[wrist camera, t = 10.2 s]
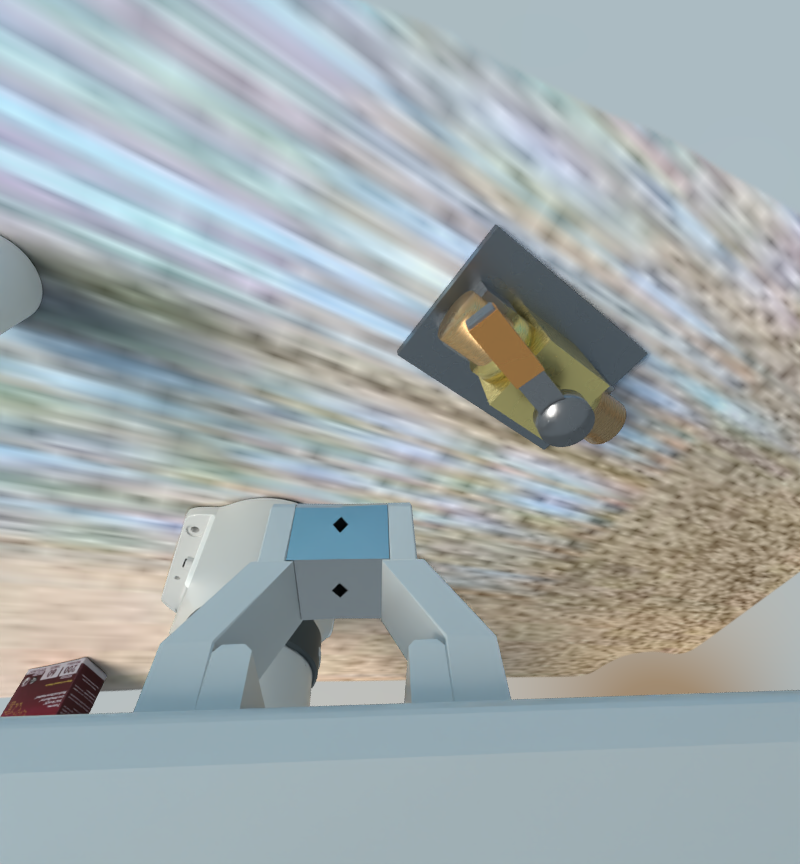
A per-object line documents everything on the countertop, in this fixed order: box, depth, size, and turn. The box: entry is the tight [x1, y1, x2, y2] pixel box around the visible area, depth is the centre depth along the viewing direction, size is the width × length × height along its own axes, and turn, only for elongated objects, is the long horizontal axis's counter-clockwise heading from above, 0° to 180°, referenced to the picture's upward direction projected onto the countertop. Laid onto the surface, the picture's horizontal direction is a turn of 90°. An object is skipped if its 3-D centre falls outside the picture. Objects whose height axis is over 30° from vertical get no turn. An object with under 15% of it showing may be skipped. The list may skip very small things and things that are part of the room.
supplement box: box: [0, 657, 107, 717], centre depth 57 cm, size 9×5×16 cm, turn 106°
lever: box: [465, 302, 595, 447], centre depth 30 cm, size 11×4×1 cm, turn 41°
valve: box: [397, 225, 647, 450], centre depth 37 cm, size 12×17×10 cm
